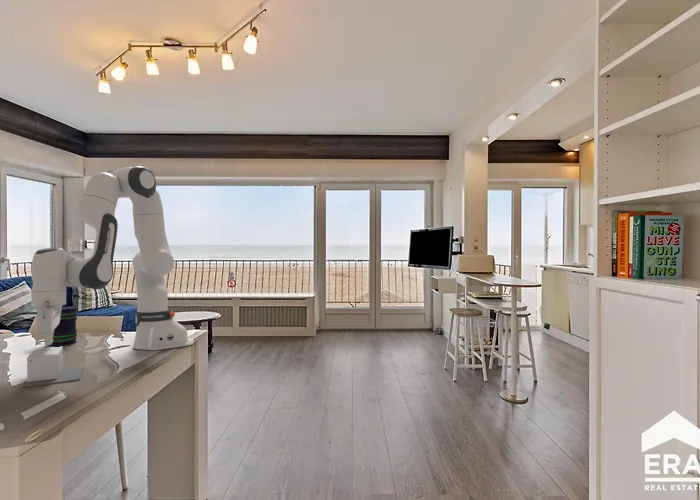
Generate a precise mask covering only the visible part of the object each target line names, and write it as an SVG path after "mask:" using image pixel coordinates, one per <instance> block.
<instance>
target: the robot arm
mask: <svg viewBox="0 0 700 500" xmlns="http://www.w3.org/2000/svg"><path fill="white" fill-rule="evenodd" d="M121 198H122V199H123V198H125V199H126V198H127V199H128V198H129V199H130V201H131V203H132V217H133V229H134V236H135V238H136V240H137V243H138V244H137V245H138V248H139V252H137V253H136V254H135V255H134V257H133V258H132V266H133V272H134V273H133V274H134V280H135V286H136V291H137V292H136V299H137V301H136V304H137V310H136V312H135V325H136V326H135V327H136V330H135V331H136V332H135V337H134V341H133V343H132V349H136V350H142V351H143V350H148V351H160V350H167V349H174V348H180V347H181V348H182V347H188V346H191V345H192V346H193V345H194V339H192V338H191V337H189V335H188V331H187V329H186V327H185V326H183V325H182V324H181V323H179V322H178V321H177V320H175V319H173V318H174V317H175V316H176V313H175V311H171V310H170V309H169V308H168V307H169V306H168V304H169V302H168V301H169V300H168V297H169V296H168V295H169V294H168V288H167V285H166V283H165V277H164V276H167V275H169V274H170V273H171V272H172V271H173V269H174V268H175V259H174V257H173V255H172V253H171V250H170V249H171V248H170V245H169V242H168V237H167V234H166V229H165V217H164V216H165V215H164V209H163V203H162V198H161V195H160V193H159V191H158V190H157V180H156V177H155V175H154V173H153V171H152V170H151V169H150V168H148V167H145V166H135V165H134V166H127V167H121V168H118V169H115V170H109V171H107V172H103V171H102V172H96V173H93V174H92V175H91V176H90V178H89V180H88V181H87V182H86V184H85V187H84V189H83V191H82V193H81V196H80V199H79V200H78V203H77V210H76V212H77V215H78V217H79V219H80V220H81V221H82V222H84V224H86V225H88V226H90V227H92V228H94V230H95V233H96V236H95V240H94V241H95V242H94V247H93V253H92V254H91V256H90V257H89V258H83V257H82V258H81V257H77V256H73V255H71V254H70V253H68V252H66V251H65V249H64V248H61V247H48V248H41V249H38V250H37V251H35V253H34V254H33V256H32V260H31V270H30V271H31V272H30V273H31V280H32V287H31V291H30V292H31V294H30V298H31V300H30V306H31V307H33V308H35V309H36V310H35V311H36V312H37V313H36V335H37V336H39V335H42V336H43V339H44V340H43V341H44V345H45V346H48V345H51V344H52V343H53V334H54V329H55V328H56V327H57V326H58V324H59V323H60V318H61V310H62V307H63V306H65V305H67V287H68V288H85V289H92V290H101V289H104V288H105V287H107V286H108V285H109V284H110V282H111V280H112V279H113V277H114V276H113V275H114V255H115V248H116V243H117V242H116V241H117V237H118V228H119V227H118V225H119V224H118V220H117V218H116V217H115V214H116V213H115V212H116V208H117V206H118V205H117V204H118V200H119V199H121Z"/></svg>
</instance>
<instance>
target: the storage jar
mask: <svg viewBox="0 0 700 500" xmlns="http://www.w3.org/2000/svg"><path fill="white" fill-rule="evenodd" d="M77 309H78V308H77V306H74V305H73V306H72V305H71V306H69V305H68V306H65V305H62V310H61V318H60V323H59V324H58V326H57V327H56V328H55V329H54V334H53V343H52V344H51V345H47V346H48V347H50V346H60V347H62V346H63V347H66V346H65V345H68V346H72V345H71V344H73V345H75V344H74V343H76V344H77V337H78V334H77V333H78V331H77V320H78V316H77V315H78V313H77V312H78V311H77Z"/></svg>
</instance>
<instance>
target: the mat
mask: <svg viewBox="0 0 700 500" xmlns="http://www.w3.org/2000/svg"><path fill="white" fill-rule="evenodd" d="M83 370H84V367H77V368H67V369H62V371H61V372H60V374H59V376H58V378H57V379H52V380H43V381H35V382H27V381H26V383H25V385H23V387H24V388H31V387H39V386H47V385H57V384H63V383H70V382H71V381H72V382H78V380H80V381H81V378H82V375H83Z"/></svg>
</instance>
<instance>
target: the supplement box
mask: <svg viewBox="0 0 700 500" xmlns="http://www.w3.org/2000/svg"><path fill="white" fill-rule="evenodd" d="M63 354H64V346H60V347H50V346H48V347H40V348H34V350H33V351H32V352H31V353H30V354H29V355H28V356H27V357H26V371H27V373H26V376H27V377H26V383H27V382H35V381H43V380H52V379H57V378H58V376H59V374H60V372H61V371H62V370H64V368H63V365H64V364H63V363H64V358H63V357H64V355H63Z"/></svg>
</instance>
